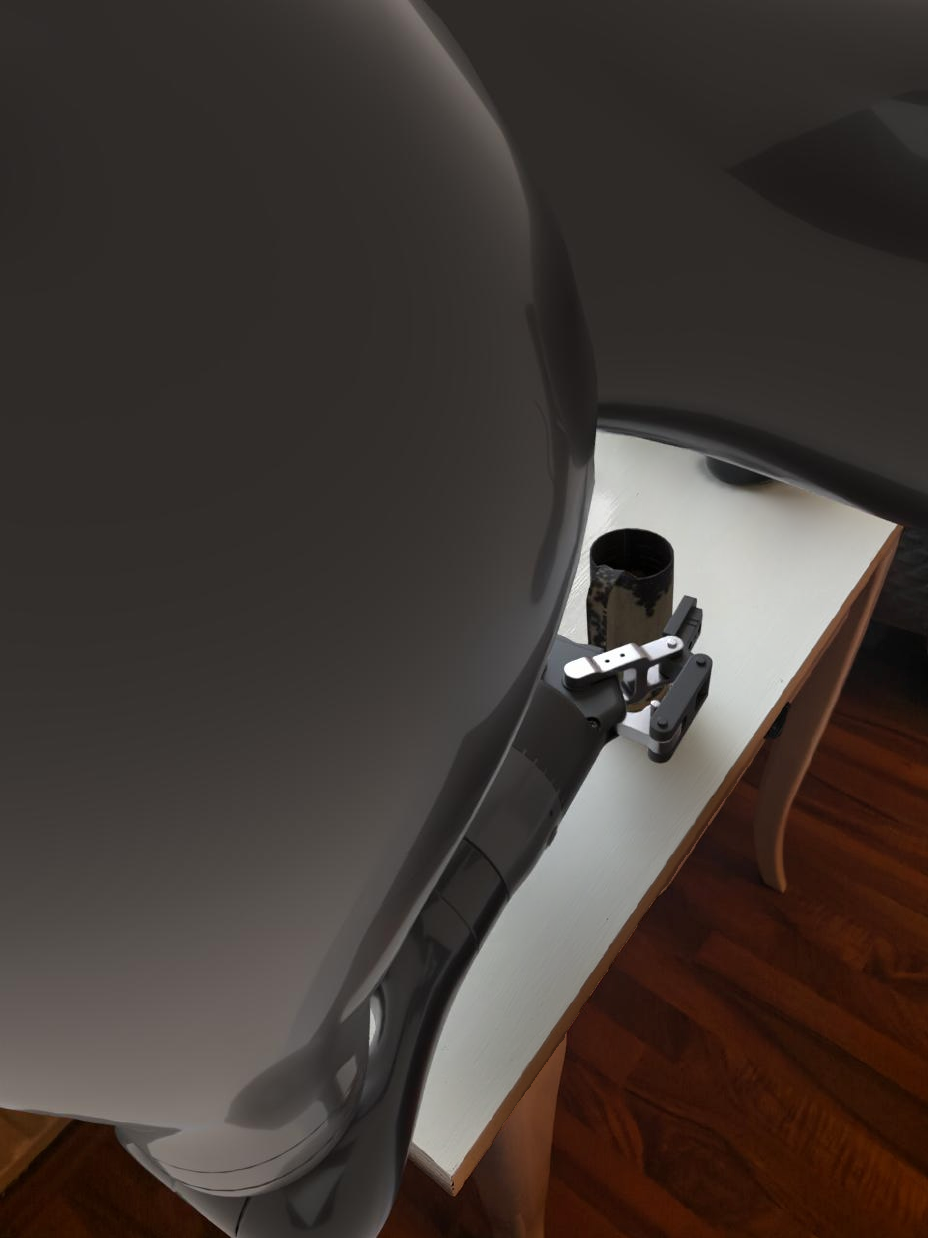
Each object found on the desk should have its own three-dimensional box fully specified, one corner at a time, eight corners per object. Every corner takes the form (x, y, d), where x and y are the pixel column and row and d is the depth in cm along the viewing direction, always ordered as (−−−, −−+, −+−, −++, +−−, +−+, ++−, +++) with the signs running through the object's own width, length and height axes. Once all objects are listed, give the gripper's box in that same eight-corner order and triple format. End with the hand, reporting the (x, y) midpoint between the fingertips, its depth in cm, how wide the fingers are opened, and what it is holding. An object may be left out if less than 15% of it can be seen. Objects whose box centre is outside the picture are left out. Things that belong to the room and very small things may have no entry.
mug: (605, 641, 62) (609, 502, 54) (679, 665, 59) (695, 523, 51) (555, 716, 57) (551, 576, 49) (634, 746, 54) (643, 604, 46)
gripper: (631, 795, 36) (748, 569, 46) (355, 688, 42) (511, 508, 52) (625, 890, 41) (732, 667, 51) (380, 781, 47) (517, 602, 57)
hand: (620, 587), depth 51 cm, fingers open, 8 cm apart
